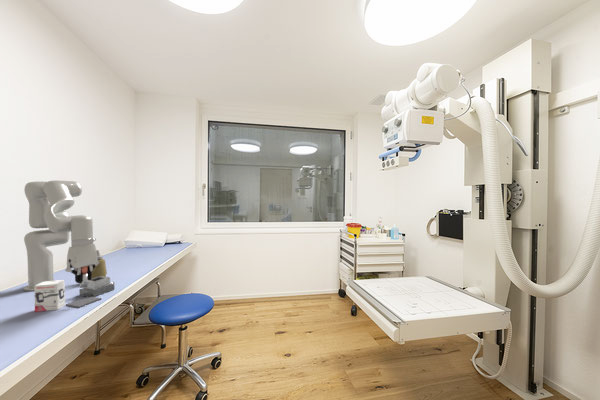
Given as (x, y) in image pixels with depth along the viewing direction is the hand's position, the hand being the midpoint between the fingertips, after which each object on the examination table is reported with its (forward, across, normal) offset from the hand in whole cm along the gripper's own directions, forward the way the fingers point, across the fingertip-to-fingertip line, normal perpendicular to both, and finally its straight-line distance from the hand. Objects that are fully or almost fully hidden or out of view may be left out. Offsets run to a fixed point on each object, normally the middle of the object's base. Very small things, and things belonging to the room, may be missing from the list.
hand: (83, 280), depth 110 cm
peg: (+3, 0, 0) cm, 3 cm away
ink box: (+11, +8, -8) cm, 16 cm away
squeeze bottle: (+10, -23, -27) cm, 37 cm away
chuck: (+10, -11, -7) cm, 17 cm away
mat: (+10, 0, 0) cm, 10 cm away
